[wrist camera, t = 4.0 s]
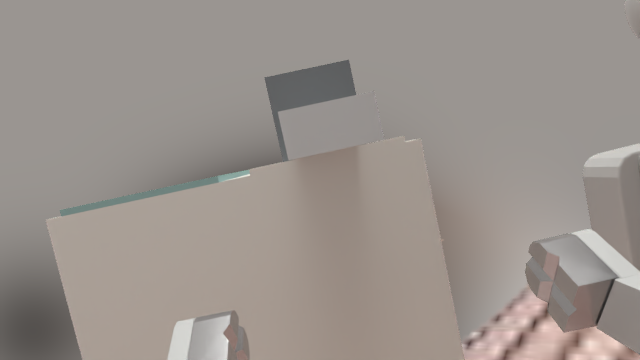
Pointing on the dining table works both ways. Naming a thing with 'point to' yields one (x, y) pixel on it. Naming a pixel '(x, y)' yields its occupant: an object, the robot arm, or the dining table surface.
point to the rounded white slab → (615, 199)
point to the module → (321, 111)
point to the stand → (268, 261)
